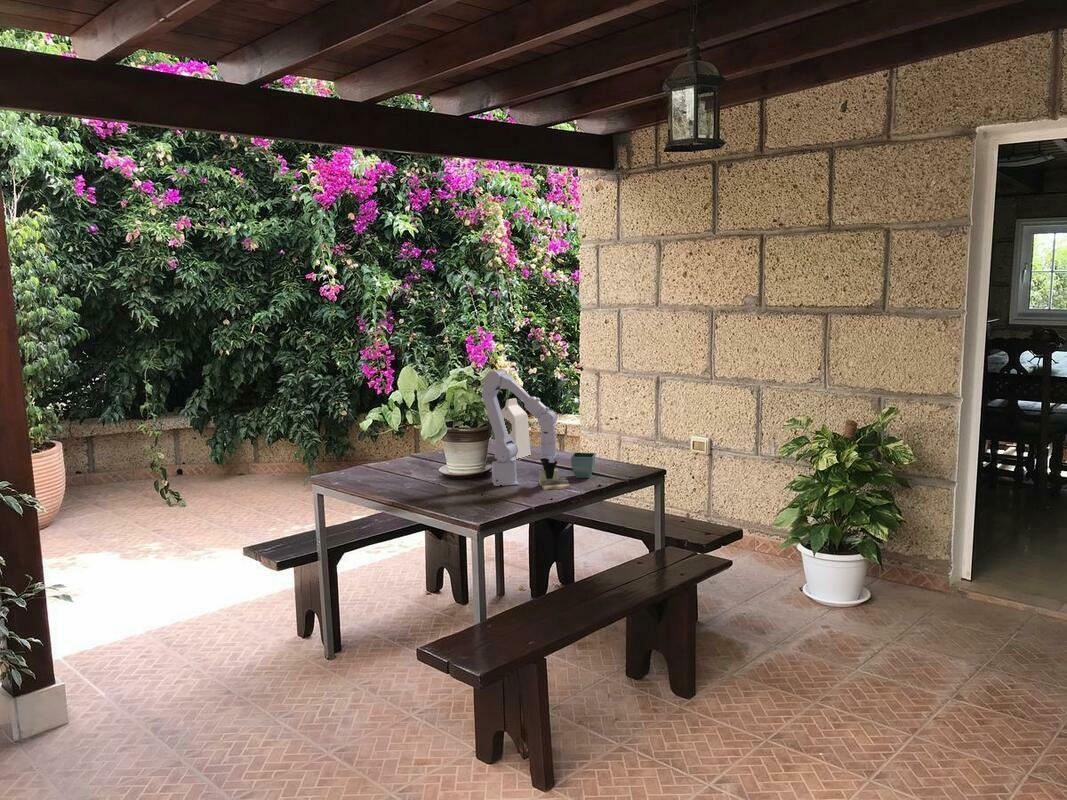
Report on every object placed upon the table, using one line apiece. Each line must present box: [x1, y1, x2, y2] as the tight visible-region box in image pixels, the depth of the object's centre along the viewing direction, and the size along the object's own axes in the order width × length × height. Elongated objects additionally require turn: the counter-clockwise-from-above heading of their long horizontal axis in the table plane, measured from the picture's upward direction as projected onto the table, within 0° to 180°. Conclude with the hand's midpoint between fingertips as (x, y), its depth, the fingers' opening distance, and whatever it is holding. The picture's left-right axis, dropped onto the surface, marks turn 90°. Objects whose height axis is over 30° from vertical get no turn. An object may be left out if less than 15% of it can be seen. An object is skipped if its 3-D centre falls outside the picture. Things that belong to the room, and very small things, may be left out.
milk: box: [501, 397, 532, 459], centre depth 385 cm, size 12×12×26 cm
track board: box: [538, 477, 571, 491], centre depth 329 cm, size 10×12×2 cm
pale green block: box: [538, 468, 560, 485], centre depth 328 cm, size 7×2×5 cm, turn 99°
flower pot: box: [570, 452, 596, 479], centre depth 342 cm, size 9×9×9 cm
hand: (548, 477), depth 328 cm, fingers closed on pale green block, 2 cm apart
